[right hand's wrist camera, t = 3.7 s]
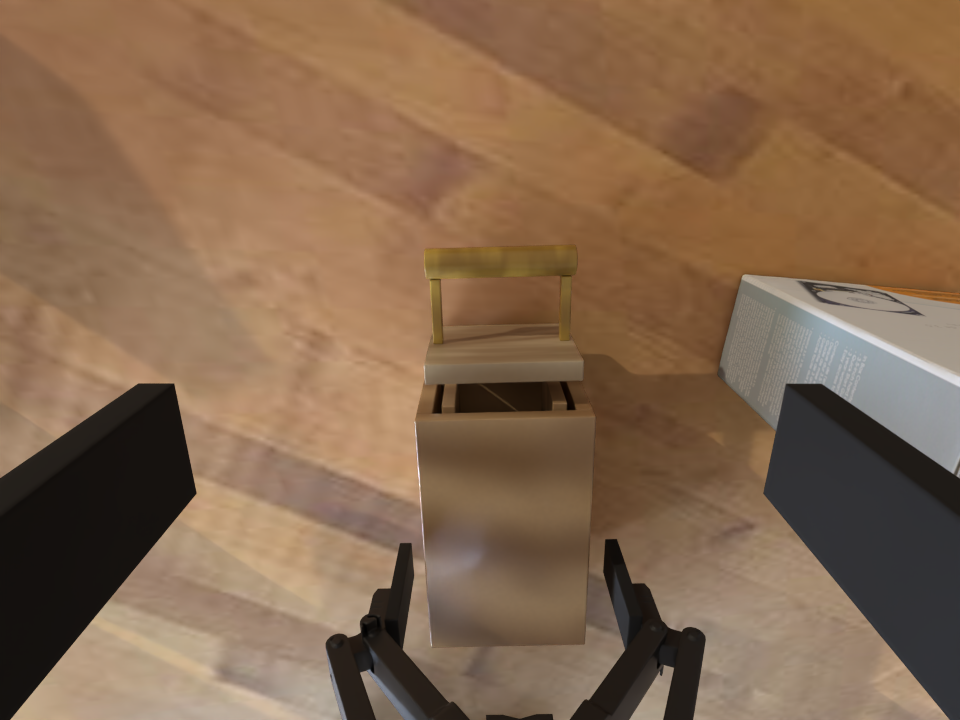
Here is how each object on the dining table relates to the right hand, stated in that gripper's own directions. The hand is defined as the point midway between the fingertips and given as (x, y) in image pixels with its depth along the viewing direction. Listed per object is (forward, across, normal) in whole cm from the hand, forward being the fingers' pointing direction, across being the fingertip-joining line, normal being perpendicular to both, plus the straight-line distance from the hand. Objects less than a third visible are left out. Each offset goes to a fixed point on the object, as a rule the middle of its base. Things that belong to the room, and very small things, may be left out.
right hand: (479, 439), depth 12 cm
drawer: (+25, -1, +10) cm, 27 cm away
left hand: (+20, -2, +20) cm, 28 cm away
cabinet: (+26, -2, +16) cm, 30 cm away
